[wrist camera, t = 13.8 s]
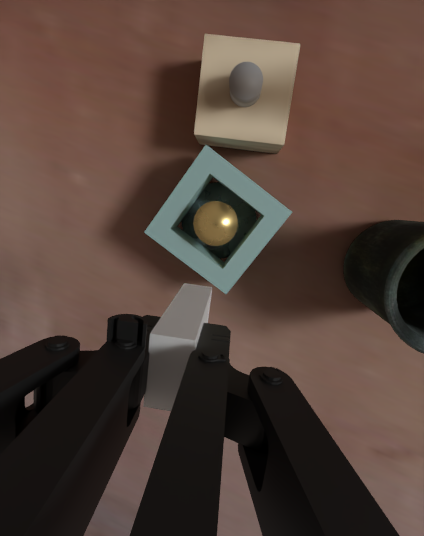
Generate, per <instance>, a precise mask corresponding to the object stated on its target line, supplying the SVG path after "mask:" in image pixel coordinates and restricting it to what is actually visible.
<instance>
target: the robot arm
mask: <svg viewBox="0 0 424 536" xmlns="http://www.w3.org/2000/svg"><path fill="white" fill-rule="evenodd" d="M211 294H212V287H208V286H201V285H194V284H187V283H184V284H183V286H182V287H181V289H180V290H179V292H178V293H177V295H176V296H175V297H174V299H173V300H172V302H171V303H170V305H169V306H168V308H167V309H166V311H165V312H164V314H163V315H162V317H157V316H150V315H146V316H143V317H141V316H138V315H133V314H119V315H115V316H112V317H110V318H108V327H107V342H106V343H105V344H104V345H103V346H102V347H101V348H100V349H99V350H95V351H80V343H79V341H78V340H77V339H75V338H72V337H67V336H55V337H49V338H46V339H43V340H40V341H38V342H36V343H34V344H32V345H30V346H27V347H25V348H23V349H21V350H19V351H17V352H14V353H12V354H10V355H8V356H6V357H4V358H1V359H0V536H83V535H84V533H85V531H86V529H87V527H88V524H89V522H90V520H91V518H92V516H93V514H94V511H95V509H96V507H97V505H98V503H99V501H100V499H101V496H102V494H103V492H104V490H105V488H106V486H107V484H108V481H109V479H110V477H111V475H112V473H113V471H114V469H115V466H116V464H117V462H118V460H119V458H120V456H121V454H122V451H123V449H124V447H125V445H126V443H127V441H128V438H129V436H130V434H131V432H132V430H133V428H134V426H135V423H136V421H137V419H138V417H139V413H140V403H141V400H142V398H143V396H144V407H149V408H155V409H161V410H167V411H171V413H170V416H169V419H168V422H167V425H166V428H165V431H164V434H163V437H162V440H161V443H160V446H159V449H158V452H157V455H156V458H155V461H154V464H153V467H152V470H151V473H150V476H149V479H148V482H147V485H146V488H145V491H144V494H143V497H142V500H141V503H140V506H139V509H138V512H137V515H136V518H135V521H134V524H133V527H132V530H131V533H130V536H217V524H218V511H219V497H220V484H221V470H222V456H223V443H224V437H226V438H228V439H230V440H233V441H235V442H237V443H238V452H239V456H240V459H241V463H242V466H243V470H244V473H245V476H246V480H247V483H248V487H249V490H250V494H251V497H252V501H253V504H254V507H255V511H256V514H257V518H258V521H259V525H260V528H261V532H262V535H263V536H399V534H398V533H397V531H396V530H395V528H394V527H393V526H392V524H391V523H390V521H389V520H388V518H387V517H386V515H385V514H384V512H383V511H382V510H381V508H380V507H379V505H378V504H377V502H376V501H375V499H374V498H373V496H372V495H371V494H370V492H369V491H368V489H367V488H366V486H365V485H364V483H363V482H362V480H361V479H360V477H359V476H358V475H357V473H356V472H355V470H354V469H353V467H352V466H351V464H350V463H349V461H348V460H347V459H346V457H345V456H344V454H343V453H342V451H341V450H340V448H339V447H338V445H337V444H336V443H335V441H334V440H333V438H332V437H331V435H330V434H329V432H328V431H327V429H326V428H325V427H324V425H323V424H322V422H321V421H320V419H319V418H318V416H317V415H316V413H315V412H314V410H313V409H312V408H311V406H310V405H309V403H308V402H307V400H306V399H305V397H304V396H303V394H302V393H301V392H300V390H299V389H298V387H297V386H296V384H295V383H294V381H293V380H292V379H291V378H290V377H289V376H288V375H287V374H286V373H284V372H282V371H281V370H279V369H277V368H276V369H275V368H273V367H257V368H255V369H252V371H251V372H250V375H247V374H244V373H242V372H239V371H238V370H236V369H234V368H233V367H232V366H231V365H230V363H229V361H230V360H229V346H230V333H231V331H230V330H229V329H228V328H227V326H222V325H216V324H209V323H208V317H209V309H210V301H211ZM33 390H34V403H33V404H32V405H30V406H29V407H26V408H25V396H26V395H27V394H28V393H30V392H32V391H33ZM144 394H145V395H144Z"/></svg>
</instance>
